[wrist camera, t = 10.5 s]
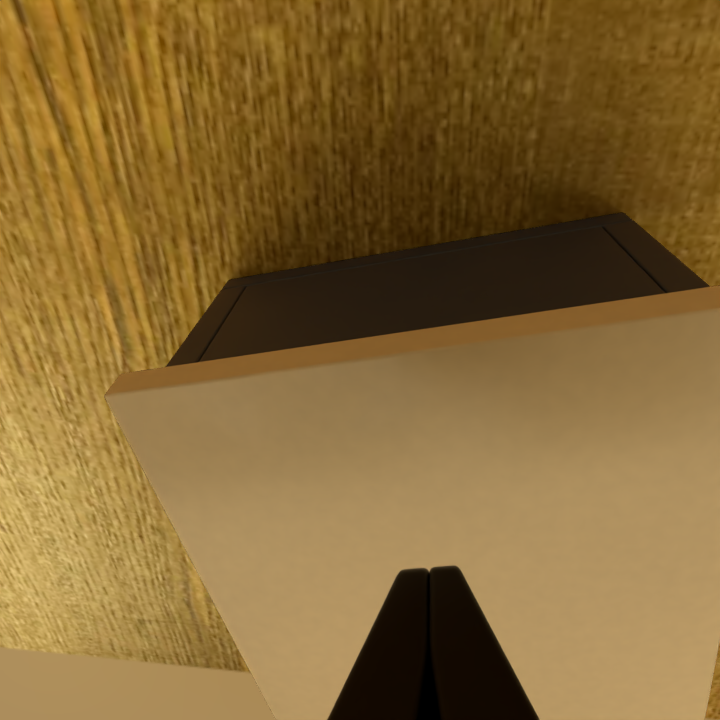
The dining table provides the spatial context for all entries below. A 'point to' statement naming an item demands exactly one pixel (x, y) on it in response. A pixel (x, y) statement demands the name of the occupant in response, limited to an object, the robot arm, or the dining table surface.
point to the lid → (460, 496)
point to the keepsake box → (437, 287)
